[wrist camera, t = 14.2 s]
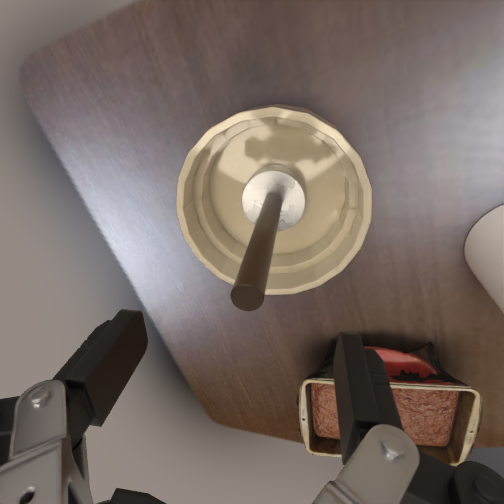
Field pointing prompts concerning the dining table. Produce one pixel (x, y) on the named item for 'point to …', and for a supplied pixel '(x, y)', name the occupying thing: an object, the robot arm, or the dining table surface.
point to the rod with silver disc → (266, 227)
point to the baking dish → (399, 405)
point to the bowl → (316, 185)
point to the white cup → (488, 253)
